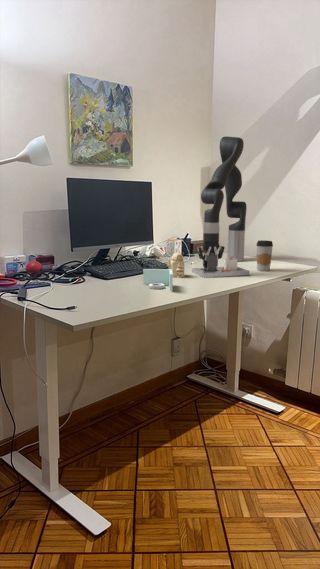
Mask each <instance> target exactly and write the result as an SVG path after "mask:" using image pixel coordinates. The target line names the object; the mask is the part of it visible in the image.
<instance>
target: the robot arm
mask: <svg viewBox="0 0 320 569" xmlns="http://www.w3.org/2000/svg"><path fill="white" fill-rule="evenodd" d="M244 146H245V145H244V139H243V138H241V137H238V136H237V137H236V136H222V137H221V139H220V140H219V154H220V158H221V159H220V160H221V164H220V165H219V166H217V168H216V169H214V170H215V171H214V172H213V174H212V177H211V178H210V181H209V182H208V183H207V184H206V186H204V188H203V189H202V191H201V194H200V200H201V202H202V203H203V204H205V205H213V206H212V208H208V209H206V210H204V217H203V218H204V219H203V230H202V231H203V232H202V234H203V236H202V242H203V243H202V245H201V246H197V247H196V250H197V254H198V258H199V259H200V260H202V268H207V256H209V254H210V253H212V254H213V255H217V267H219V266H218V265H219V260H220V259H222V258H223V255H224V251H225V246H224V245H220V212H221V210H222V209H221V208H222V206H223V202H224V199H226V200H225V201H226V203H225V204H226V208H225V210H226V215H227V217H228V218H230V219H239V220H238V221H236V222H235V223H232V224H229V225H228V236H227V239H228V240H227V249H226V250H227V256H226V258H229V256H233V258H235V259H237V262H243V261H245V240H246V239H245V237H246V216H247V208H248V207H247V203H246V201H233V200H234V198H235V197H236V195H237V193H239V192H240V190H241V188H242V185H243V177H242V173H241V170H240V169H239V167H238V166H237V165H236V164H237V162H238V161H239V159H240V157H241V155H243V154H242V153H243V150H244ZM223 189H224V190H225V194H224V192H223ZM203 250H204V252H203Z"/></svg>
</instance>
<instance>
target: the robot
mask: <svg viewBox="0 0 320 569" xmlns="http://www.w3.org/2000/svg"><path fill="white" fill-rule="evenodd" d="M180 247H181V246H180V245H177V248H180ZM178 250H179V249H176V252H174V253H173V254H172V255H171V259H170V257H169V258H167V263H168V264H166V267H168V268H167V269H172V274H173V278H177V279H182V278H181V277H183V278H185V277H187V276H188V275H187V274H185V261H184V256H183V254H182V253H180V252H178ZM179 277H180V278H179Z"/></svg>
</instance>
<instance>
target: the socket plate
mask: <svg viewBox="0 0 320 569" xmlns="http://www.w3.org/2000/svg"><path fill="white" fill-rule="evenodd" d="M191 273H193V274H195V275H197V276H199V277H201V278H203V277H204V279H205V277H206V278H207V277H213V278H230V277H231V278H233V277H236V278H237V277H250V270H248V269H246V268H243V267H239V266H237V270H228V269H224V266H217V270H206V269H204V267H194V268H193V267H192V268H191ZM207 279H208V278H207Z"/></svg>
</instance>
